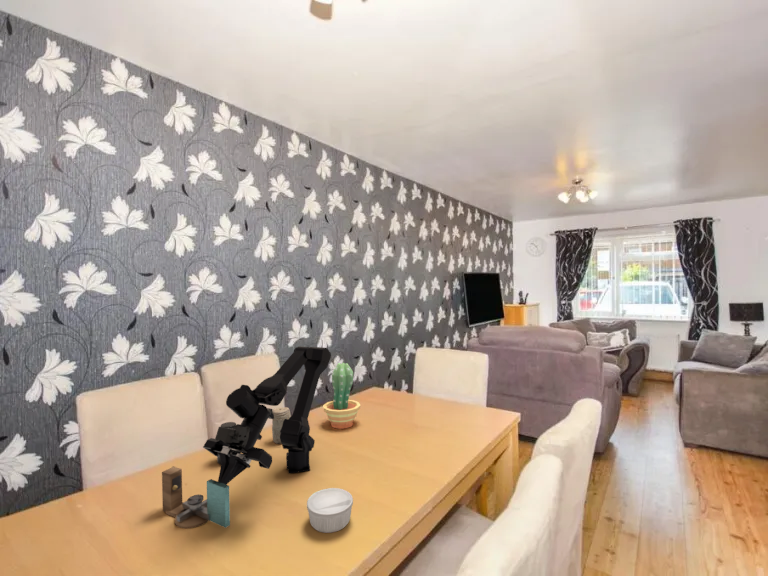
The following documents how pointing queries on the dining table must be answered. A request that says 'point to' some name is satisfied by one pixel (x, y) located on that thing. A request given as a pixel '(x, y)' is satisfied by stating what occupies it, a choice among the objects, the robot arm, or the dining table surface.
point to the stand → (176, 498)
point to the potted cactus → (342, 398)
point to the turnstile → (209, 505)
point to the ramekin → (330, 509)
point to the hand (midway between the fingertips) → (219, 488)
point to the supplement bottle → (226, 425)
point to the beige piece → (279, 422)
